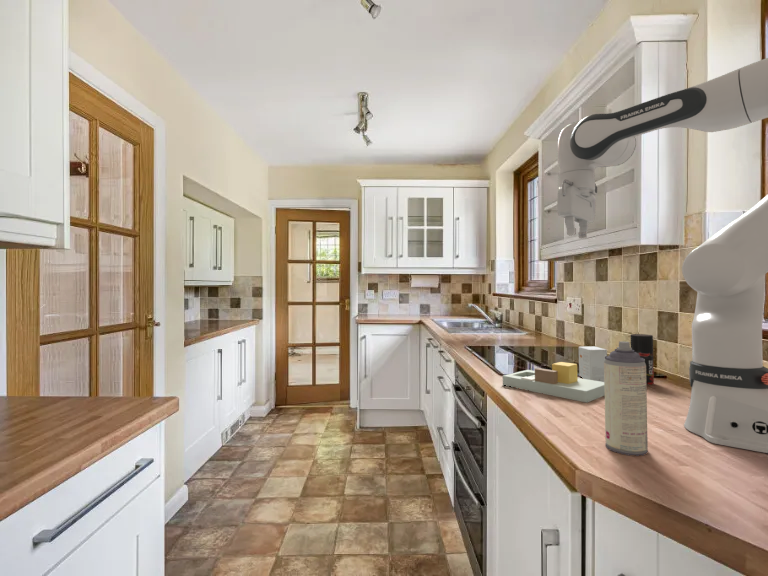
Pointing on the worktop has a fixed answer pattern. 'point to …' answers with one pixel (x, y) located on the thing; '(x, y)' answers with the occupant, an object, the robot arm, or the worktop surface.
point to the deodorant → (644, 353)
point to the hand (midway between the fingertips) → (577, 236)
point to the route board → (555, 385)
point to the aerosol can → (625, 401)
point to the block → (566, 372)
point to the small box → (592, 363)
